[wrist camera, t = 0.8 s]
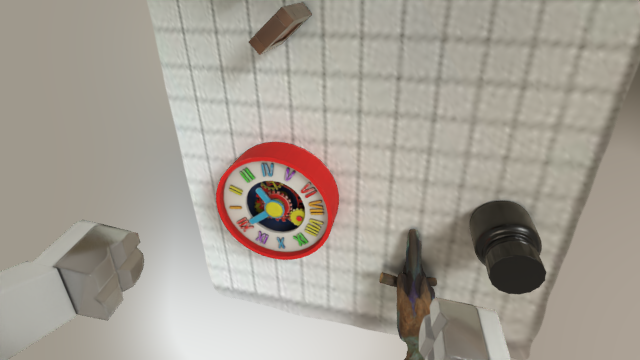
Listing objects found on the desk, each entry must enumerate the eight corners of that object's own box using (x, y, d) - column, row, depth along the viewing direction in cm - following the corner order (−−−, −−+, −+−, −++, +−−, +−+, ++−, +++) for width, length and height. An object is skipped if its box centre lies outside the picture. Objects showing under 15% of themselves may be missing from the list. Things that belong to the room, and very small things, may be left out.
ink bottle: (473, 250, 62) (485, 304, 51) (460, 207, 58) (469, 256, 48) (538, 238, 58) (564, 294, 48) (526, 192, 55) (552, 241, 45)
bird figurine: (378, 226, 63) (373, 354, 53) (439, 227, 60) (445, 361, 50) (382, 252, 74) (379, 362, 64) (434, 254, 72) (438, 368, 62)
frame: (312, 14, 50) (293, 21, 42) (282, 43, 52) (259, 55, 45) (302, 1, 49) (282, 6, 41) (272, 32, 52) (248, 41, 44)
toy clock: (356, 233, 58) (266, 273, 67) (361, 213, 63) (276, 253, 72) (280, 133, 53) (193, 191, 62) (291, 119, 58) (209, 175, 67)
